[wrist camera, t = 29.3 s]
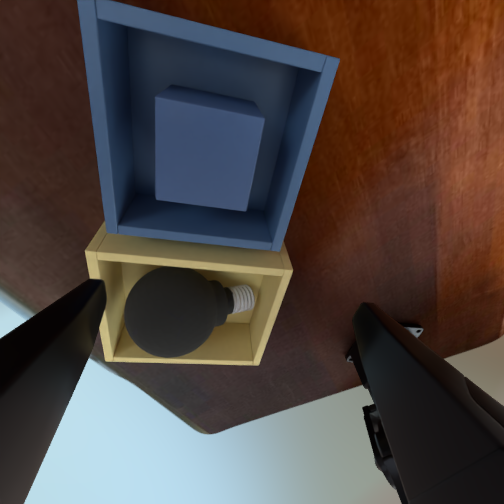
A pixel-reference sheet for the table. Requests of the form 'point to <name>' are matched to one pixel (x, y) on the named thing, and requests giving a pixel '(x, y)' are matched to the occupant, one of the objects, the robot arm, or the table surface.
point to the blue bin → (206, 79)
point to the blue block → (205, 147)
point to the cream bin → (207, 264)
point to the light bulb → (179, 310)
